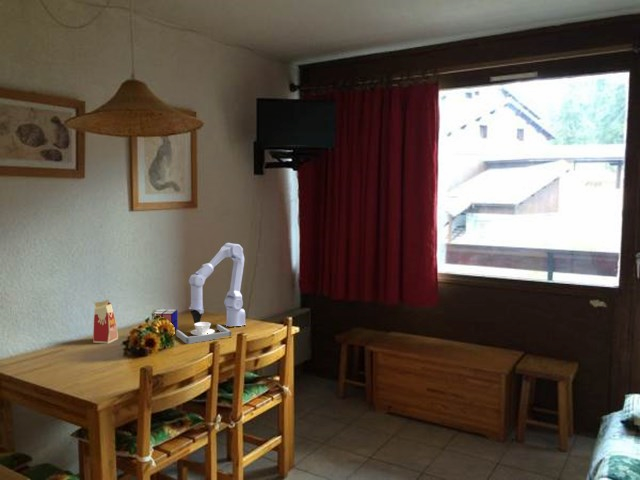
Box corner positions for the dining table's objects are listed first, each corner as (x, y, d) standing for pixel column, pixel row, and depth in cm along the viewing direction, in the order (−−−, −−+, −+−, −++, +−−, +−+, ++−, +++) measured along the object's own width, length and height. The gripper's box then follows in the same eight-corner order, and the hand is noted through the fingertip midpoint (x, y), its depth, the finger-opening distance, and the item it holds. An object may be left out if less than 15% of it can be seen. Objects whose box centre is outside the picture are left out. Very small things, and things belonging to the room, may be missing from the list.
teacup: (192, 338, 261) (192, 327, 261) (188, 332, 273) (188, 322, 272) (216, 336, 266) (216, 325, 265) (212, 330, 277) (212, 320, 276)
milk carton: (118, 338, 260) (117, 297, 258) (109, 343, 251) (107, 301, 249) (100, 337, 261) (99, 296, 259) (90, 342, 252) (89, 300, 250)
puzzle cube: (172, 333, 270) (171, 313, 269) (152, 333, 270) (151, 313, 269) (177, 328, 280) (177, 309, 279) (158, 328, 280) (158, 309, 279)
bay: (219, 330, 277) (219, 324, 277) (231, 337, 264) (231, 331, 263) (176, 335, 266) (176, 329, 265) (186, 344, 252) (186, 337, 252)
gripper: (184, 296, 275) (184, 322, 277) (193, 301, 263) (194, 328, 264) (197, 295, 279) (198, 320, 280) (207, 300, 267) (207, 327, 268)
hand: (197, 324), depth 272 cm, fingers closed
